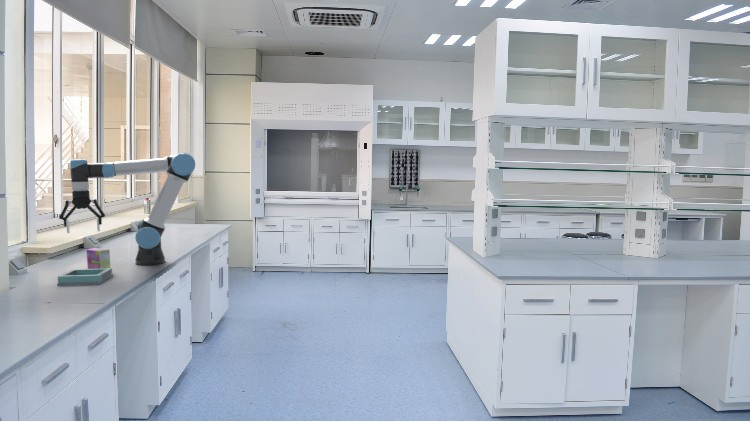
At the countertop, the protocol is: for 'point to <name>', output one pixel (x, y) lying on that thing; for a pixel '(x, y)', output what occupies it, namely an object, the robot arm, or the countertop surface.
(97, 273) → the teal square tray
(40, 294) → the countertop surface
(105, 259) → the box
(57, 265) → the countertop surface
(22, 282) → the countertop surface
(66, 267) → the countertop surface
